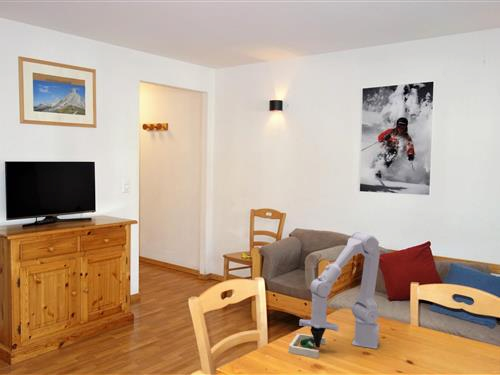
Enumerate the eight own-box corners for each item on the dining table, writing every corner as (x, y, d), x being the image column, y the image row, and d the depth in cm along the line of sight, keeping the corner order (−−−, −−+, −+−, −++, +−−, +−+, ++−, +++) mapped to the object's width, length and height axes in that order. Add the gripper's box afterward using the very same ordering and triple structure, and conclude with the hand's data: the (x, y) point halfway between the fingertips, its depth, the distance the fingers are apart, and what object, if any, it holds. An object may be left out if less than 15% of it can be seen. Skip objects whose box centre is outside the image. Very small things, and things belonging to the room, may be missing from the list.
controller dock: (325, 343, 178) (325, 337, 178) (318, 358, 164) (318, 351, 164) (297, 339, 182) (297, 333, 182) (288, 352, 168) (288, 346, 168)
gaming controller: (302, 358, 168) (314, 349, 167) (295, 350, 169) (307, 341, 167) (306, 349, 177) (317, 339, 176) (299, 341, 178) (310, 332, 176)
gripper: (297, 311, 170) (296, 347, 170) (336, 317, 165) (335, 353, 165) (302, 306, 176) (300, 340, 177) (339, 311, 171) (338, 346, 172)
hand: (317, 346), depth 172 cm, fingers closed
